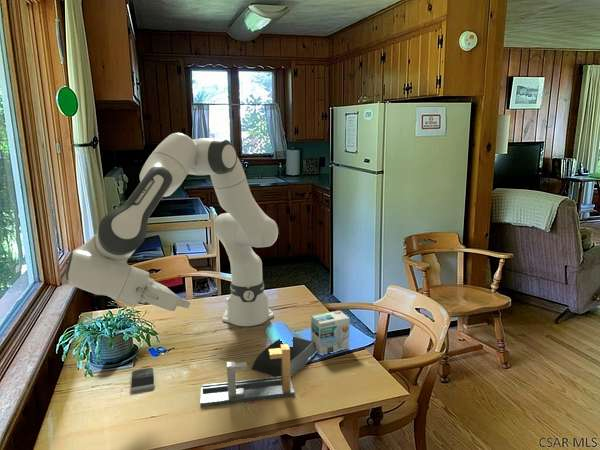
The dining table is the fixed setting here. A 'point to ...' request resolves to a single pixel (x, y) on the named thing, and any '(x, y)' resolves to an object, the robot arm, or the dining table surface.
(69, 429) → the dining table surface
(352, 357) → the dining table surface
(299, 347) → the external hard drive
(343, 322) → the light bulb box
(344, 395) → the dining table surface
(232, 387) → the retention clip
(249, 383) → the sliding rail fixture
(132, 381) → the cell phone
